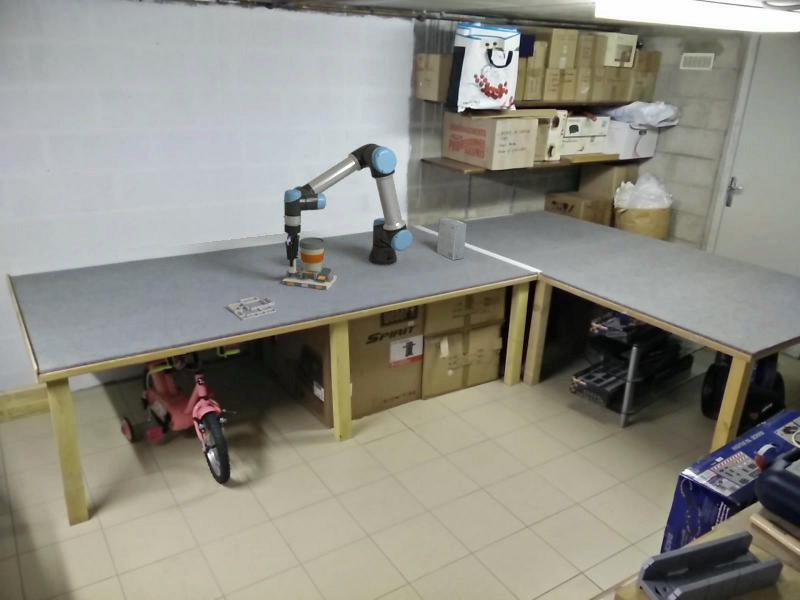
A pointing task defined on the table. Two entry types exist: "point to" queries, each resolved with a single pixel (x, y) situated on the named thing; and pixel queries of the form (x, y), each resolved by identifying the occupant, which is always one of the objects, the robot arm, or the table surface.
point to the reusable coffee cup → (312, 253)
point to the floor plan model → (240, 310)
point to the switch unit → (308, 280)
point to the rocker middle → (309, 273)
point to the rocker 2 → (323, 274)
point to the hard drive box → (451, 238)
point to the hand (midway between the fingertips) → (292, 272)
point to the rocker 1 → (297, 271)
